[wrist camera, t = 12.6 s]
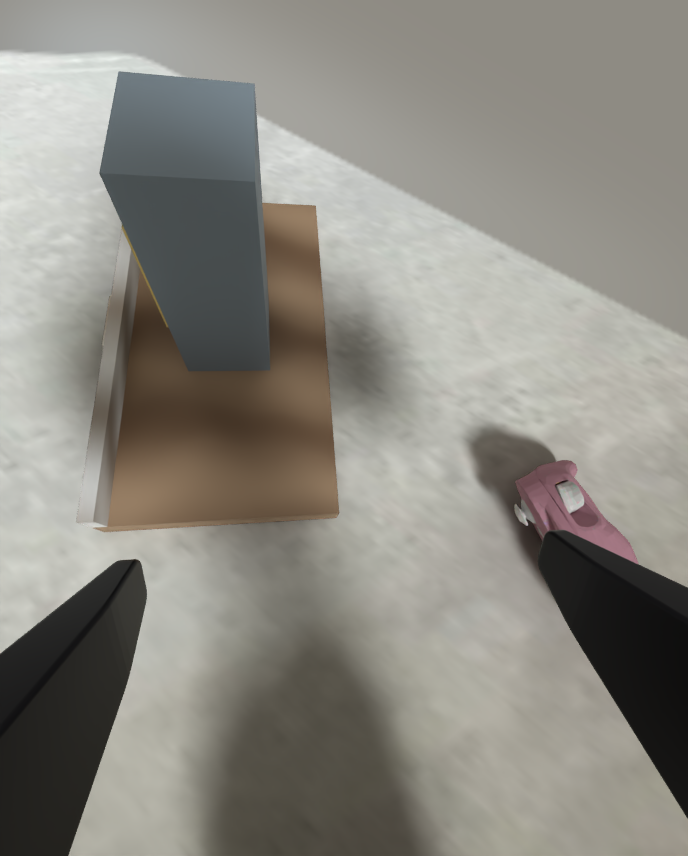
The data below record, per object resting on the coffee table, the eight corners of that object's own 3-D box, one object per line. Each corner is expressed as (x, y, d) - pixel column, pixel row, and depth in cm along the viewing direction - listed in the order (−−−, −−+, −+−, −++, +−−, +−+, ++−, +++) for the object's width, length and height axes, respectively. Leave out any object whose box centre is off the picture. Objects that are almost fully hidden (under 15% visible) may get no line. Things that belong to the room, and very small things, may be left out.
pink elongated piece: (494, 487, 26) (501, 480, 20) (563, 456, 26) (594, 437, 19) (581, 645, 24) (621, 696, 17) (661, 615, 23) (737, 658, 16)
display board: (335, 517, 23) (342, 507, 20) (100, 532, 21) (71, 522, 18) (314, 223, 31) (317, 185, 28) (142, 215, 29) (126, 174, 26)
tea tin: (268, 300, 26) (254, 83, 15) (270, 370, 24) (254, 181, 13) (187, 299, 25) (109, 70, 14) (182, 371, 23) (88, 172, 12)
